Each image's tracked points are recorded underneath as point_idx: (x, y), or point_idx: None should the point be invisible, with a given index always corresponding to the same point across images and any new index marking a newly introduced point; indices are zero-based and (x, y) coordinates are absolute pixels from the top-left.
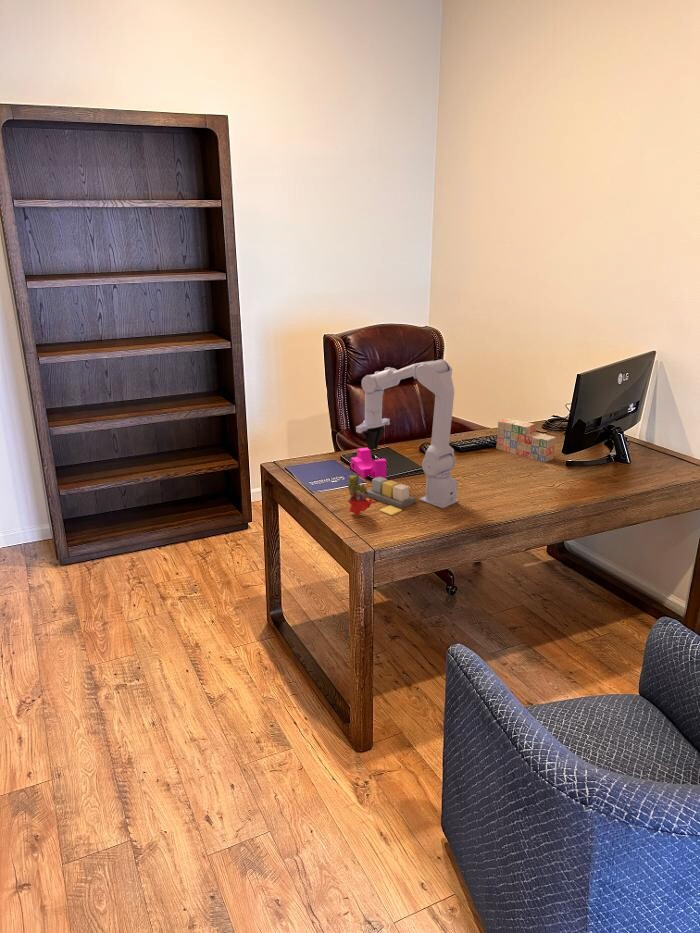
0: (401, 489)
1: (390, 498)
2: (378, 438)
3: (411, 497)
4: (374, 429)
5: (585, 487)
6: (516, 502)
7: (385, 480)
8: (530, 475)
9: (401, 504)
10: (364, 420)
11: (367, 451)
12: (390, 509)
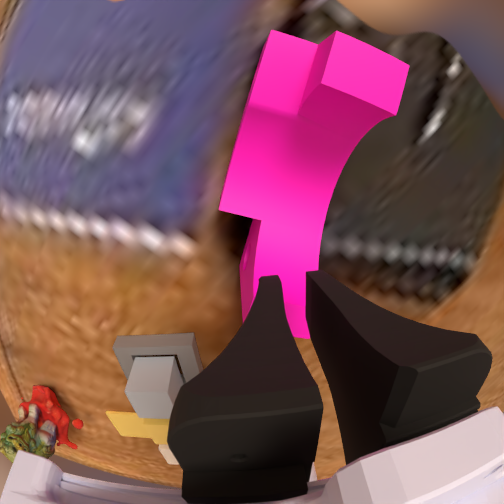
0: (168, 463)
1: None
2: (338, 402)
3: None
4: (370, 449)
5: None
6: None
7: (167, 417)
8: (496, 399)
9: None
10: (453, 487)
11: (370, 108)
12: (132, 426)
